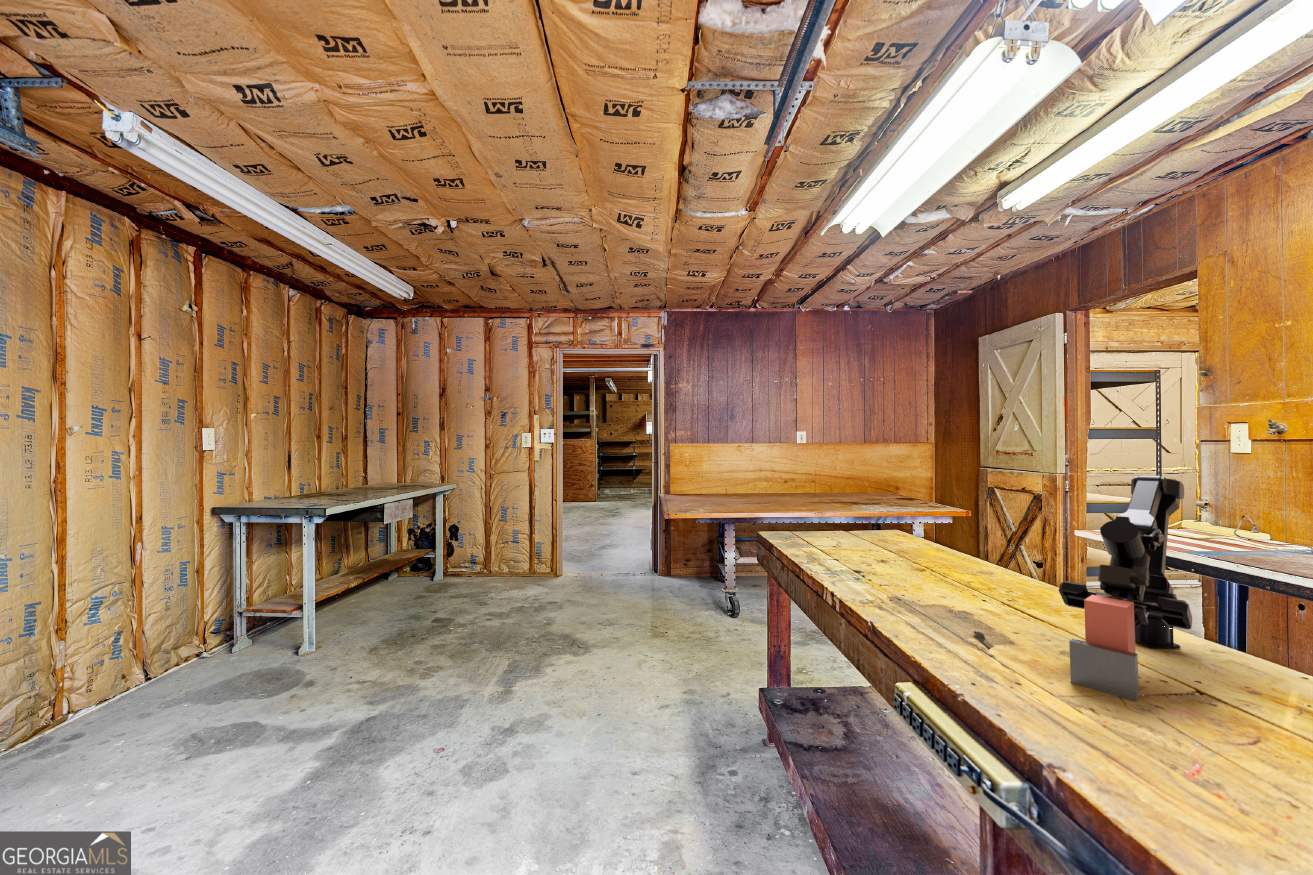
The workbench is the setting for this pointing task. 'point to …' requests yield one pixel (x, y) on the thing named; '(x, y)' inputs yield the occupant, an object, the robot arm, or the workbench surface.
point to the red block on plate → (1110, 622)
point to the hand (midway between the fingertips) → (1114, 641)
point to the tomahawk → (983, 639)
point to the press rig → (1104, 669)
